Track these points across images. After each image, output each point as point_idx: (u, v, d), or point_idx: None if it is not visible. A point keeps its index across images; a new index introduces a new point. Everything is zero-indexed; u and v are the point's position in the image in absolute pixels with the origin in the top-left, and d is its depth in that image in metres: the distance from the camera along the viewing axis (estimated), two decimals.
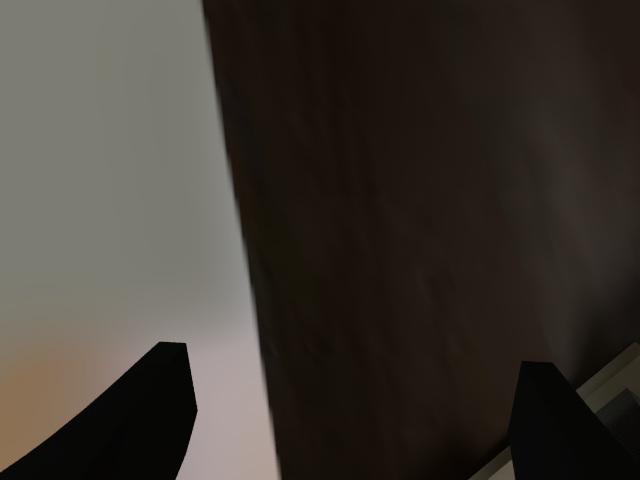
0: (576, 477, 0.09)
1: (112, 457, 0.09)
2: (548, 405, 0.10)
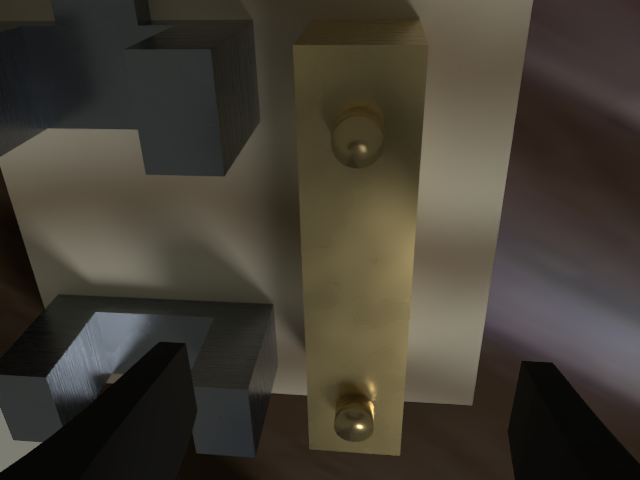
0: (576, 477, 0.09)
1: (112, 457, 0.09)
2: (548, 405, 0.10)
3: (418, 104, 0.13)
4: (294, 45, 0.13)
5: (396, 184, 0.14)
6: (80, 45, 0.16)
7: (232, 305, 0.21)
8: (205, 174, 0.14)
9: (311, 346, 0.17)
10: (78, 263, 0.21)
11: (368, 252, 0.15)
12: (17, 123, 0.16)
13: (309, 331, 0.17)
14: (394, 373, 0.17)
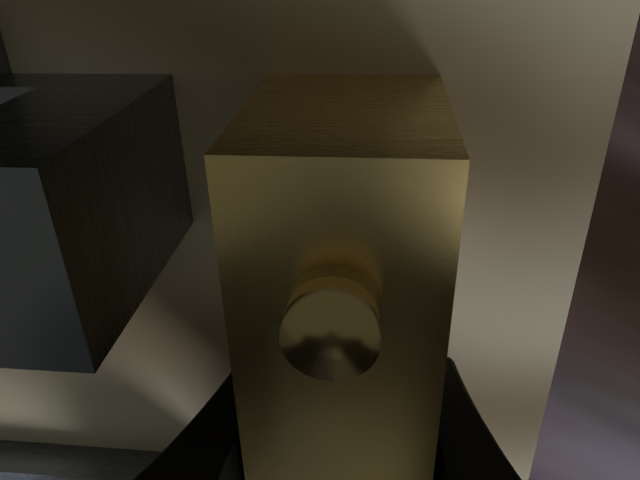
0: (442, 467, 0.09)
1: (232, 466, 0.09)
2: None
3: (446, 262, 0.07)
4: (207, 155, 0.07)
5: (403, 383, 0.08)
6: None
7: None
8: (61, 369, 0.08)
9: None
10: None
11: (354, 474, 0.09)
12: None
13: None
14: None
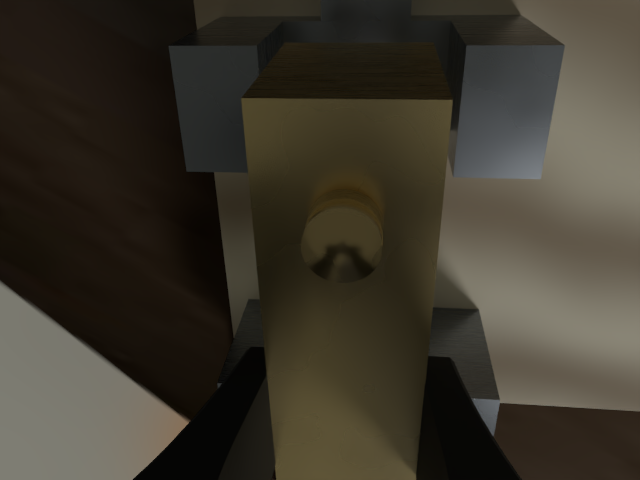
0: (442, 467, 0.09)
1: (232, 466, 0.09)
2: (430, 398, 0.10)
3: (435, 186, 0.09)
4: (243, 98, 0.08)
5: (400, 293, 0.10)
6: (342, 41, 0.16)
7: (436, 311, 0.20)
8: (519, 177, 0.13)
9: None
10: None
11: (360, 378, 0.11)
12: None
13: (281, 468, 0.12)
14: None
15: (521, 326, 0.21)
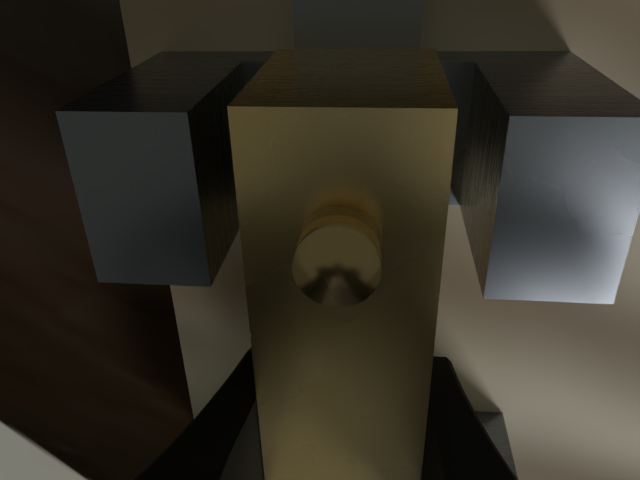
0: (438, 467, 0.09)
1: (233, 466, 0.09)
2: None
3: (438, 202, 0.08)
4: (230, 106, 0.08)
5: (401, 317, 0.09)
6: None
7: None
8: (582, 300, 0.09)
9: None
10: None
11: (357, 407, 0.10)
12: None
13: None
14: None
15: (555, 433, 0.16)
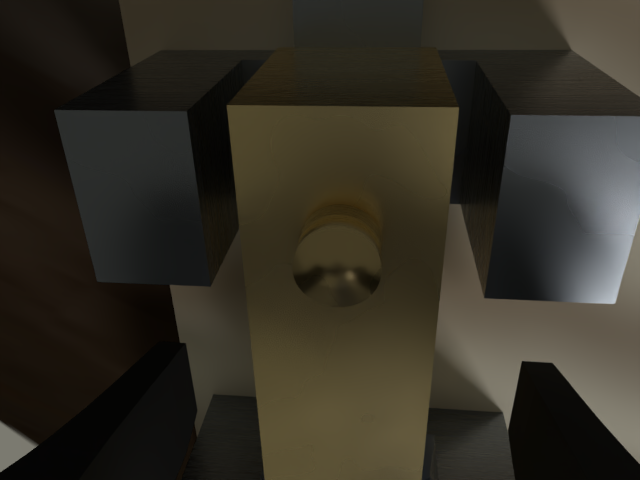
0: (576, 477, 0.09)
1: (112, 457, 0.09)
2: (548, 405, 0.10)
3: (439, 201, 0.08)
4: (229, 105, 0.07)
5: (401, 317, 0.09)
6: None
7: (449, 415, 0.16)
8: (583, 300, 0.09)
9: None
10: (247, 359, 0.16)
11: (357, 407, 0.10)
12: (236, 201, 0.11)
13: None
14: None
15: None
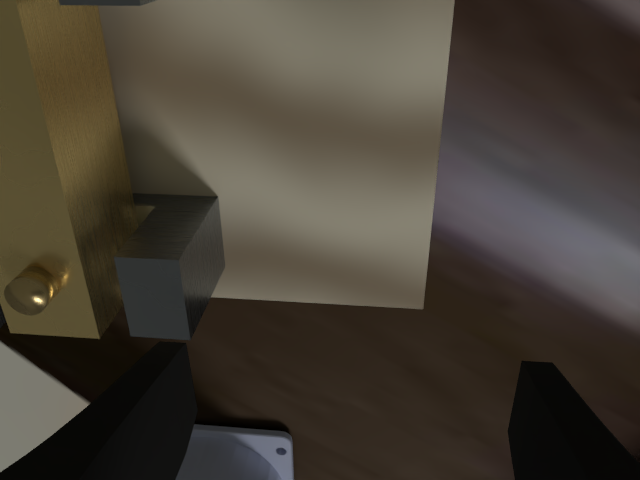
0: (576, 477, 0.09)
1: (111, 457, 0.09)
2: (548, 405, 0.10)
3: None
4: None
5: None
6: None
7: (175, 197, 0.21)
8: (121, 3, 0.13)
9: None
10: None
11: None
12: None
13: None
14: (64, 241, 0.16)
15: (262, 214, 0.21)
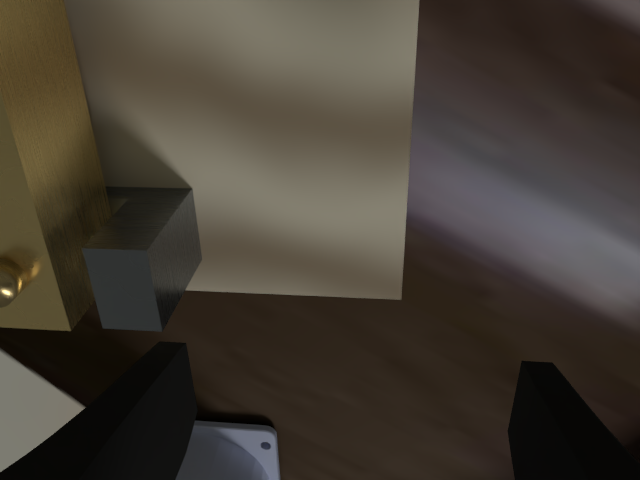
0: (576, 477, 0.09)
1: (111, 457, 0.09)
2: (548, 405, 0.10)
3: None
4: None
5: None
6: None
7: (149, 190, 0.21)
8: None
9: None
10: None
11: None
12: None
13: None
14: (31, 232, 0.16)
15: (236, 206, 0.21)
